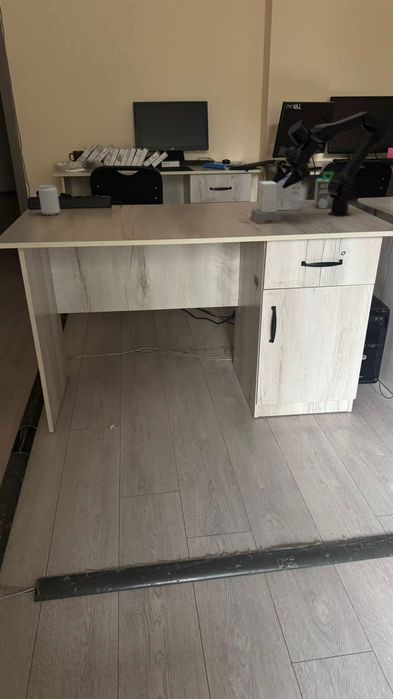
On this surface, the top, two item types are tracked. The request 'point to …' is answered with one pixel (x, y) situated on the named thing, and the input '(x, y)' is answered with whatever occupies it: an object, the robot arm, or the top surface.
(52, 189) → the can
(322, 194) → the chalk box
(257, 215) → the upper block
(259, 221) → the lower block
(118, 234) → the top surface
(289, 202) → the ink cartridge box
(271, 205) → the small box
